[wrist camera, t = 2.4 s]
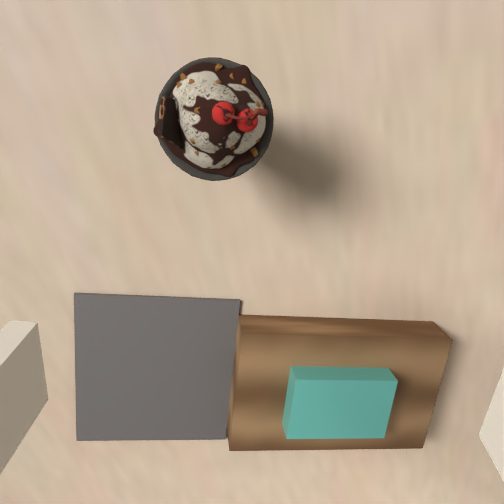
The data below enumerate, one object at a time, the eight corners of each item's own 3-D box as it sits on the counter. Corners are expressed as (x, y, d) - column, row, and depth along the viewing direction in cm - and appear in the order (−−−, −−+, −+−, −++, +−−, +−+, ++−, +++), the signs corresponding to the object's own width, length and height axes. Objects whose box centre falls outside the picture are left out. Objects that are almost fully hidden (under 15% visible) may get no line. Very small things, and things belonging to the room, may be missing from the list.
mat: (225, 437, 45) (225, 439, 45) (77, 438, 43) (76, 440, 43) (239, 299, 41) (240, 300, 40) (74, 292, 38) (74, 294, 38)
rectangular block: (375, 423, 43) (384, 438, 41) (281, 423, 41) (286, 439, 39) (388, 367, 41) (397, 380, 39) (290, 366, 39) (295, 379, 38)
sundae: (267, 103, 35) (321, 110, 21) (217, 174, 37) (237, 224, 23) (197, 47, 33) (205, 13, 19) (147, 123, 35) (120, 144, 21)
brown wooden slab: (406, 424, 48) (422, 448, 45) (226, 424, 45) (229, 450, 42) (432, 321, 44) (452, 339, 41) (238, 314, 41) (242, 333, 38)
